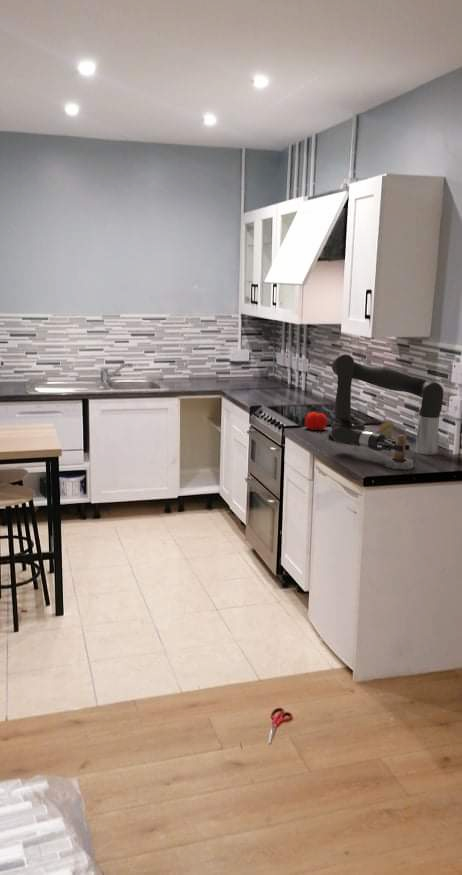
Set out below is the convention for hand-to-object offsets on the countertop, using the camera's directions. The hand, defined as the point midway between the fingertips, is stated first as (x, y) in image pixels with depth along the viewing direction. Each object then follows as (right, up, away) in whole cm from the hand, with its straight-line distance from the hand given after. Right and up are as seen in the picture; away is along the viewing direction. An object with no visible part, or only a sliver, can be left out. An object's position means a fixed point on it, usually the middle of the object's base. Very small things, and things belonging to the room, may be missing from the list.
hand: (405, 448), depth 314 cm
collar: (-2, -8, +4) cm, 9 cm away
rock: (+2, +3, +59) cm, 59 cm away
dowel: (-2, -6, +3) cm, 8 cm away
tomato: (-29, +9, +79) cm, 84 cm away
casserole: (-16, +4, +57) cm, 60 cm away
